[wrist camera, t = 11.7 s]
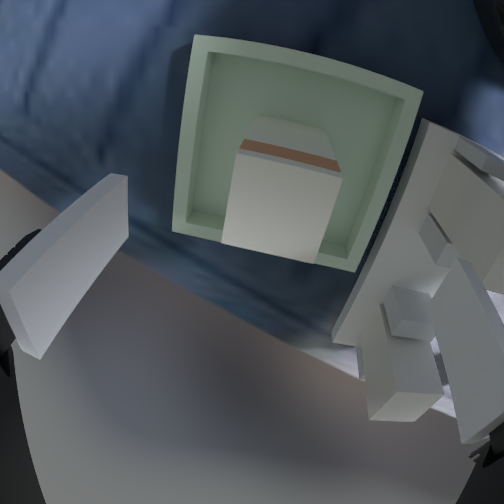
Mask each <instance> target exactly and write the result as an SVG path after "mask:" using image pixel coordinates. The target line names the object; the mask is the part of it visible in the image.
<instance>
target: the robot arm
mask: <svg viewBox="0 0 504 504" xmlns="http://www.w3.org/2000/svg"><path fill="white" fill-rule="evenodd" d="M474 1H475V4H476V8H477V11H478V14H479V17H480V20H481V22H482V25H483V27H484V30H485V32H486V34H487V36H488V38H489V40H490V42H491V44H492V46H493V48H494V49H495V51H496V53H497V54H498V56H499V58H500V59H501V61H502V62H503V64H504V0H474ZM128 237H129V233H128V176H125V175H120V174H114V173H110V174H108V175H107V176H106V177H105V178H103V179H102V180H101V181H99V182H98V183H97V184H96V185H94V186H93V187H92V188H91V189H89V190H88V191H87V192H86V193H84V194H83V195H82V196H81V197H80V198H78V199H77V200H76V201H75V202H74V203H72V204H71V205H70V206H69V207H68V208H66V209H65V210H64V211H63V212H62V213H61V214H59V215H58V216H57V217H56V218H55V219H54V220H53V221H52V222H50V224H48V225H47V226H46V227H45V228H44V229H43V230H41V229H38V230H36V231H34V232H32V233H30V234H28V235H26V236H25V237H24V238H23V239H22V240H21V241H20V242H18V243H17V244H16V246H15V247H13V248H12V249H11V250H10V251H9V252H8V255H5V256H4V257H3V258H2V259H1V260H0V504H46V503H45V500H44V497H43V494H42V491H41V488H40V485H39V482H38V479H37V475H36V472H35V469H34V465H33V462H32V458H31V454H30V451H29V446H28V442H27V438H26V433H25V429H24V424H23V420H22V414H21V409H20V403H19V396H18V390H17V383H16V375H15V367H14V356H13V350H12V347H11V344H12V342H13V341H14V339H15V338H16V340H17V341H18V344H19V346H20V348H21V350H22V351H24V352H26V353H28V354H30V355H32V356H34V357H36V358H38V359H41V357H42V356H43V355H44V353H45V351H46V350H47V348H48V347H49V345H50V344H51V342H52V341H53V339H54V338H55V336H56V335H57V333H58V332H59V330H60V328H61V327H62V326H63V324H64V323H65V321H66V320H67V318H68V317H69V315H70V314H71V313H72V311H73V310H74V308H75V307H76V305H77V304H78V303H79V301H80V300H81V298H82V297H83V296H84V294H85V293H86V291H87V290H88V289H89V287H90V286H91V285H92V283H93V282H94V281H95V279H96V278H97V277H98V275H99V274H100V273H101V271H102V270H103V269H104V267H105V266H106V265H107V263H108V262H109V261H110V260H111V258H112V257H113V256H114V254H115V253H116V252H117V251H118V249H119V248H120V247H121V246H122V244H123V243H124V242H125V241H126V239H127V238H128ZM426 308H427V310H428V313H429V316H430V320H431V323H432V326H433V329H434V332H435V335H436V339H437V342H438V345H439V349H440V352H441V356H442V359H443V363H444V367H445V370H446V374H447V378H448V382H449V386H450V390H451V394H452V399H453V403H454V408H455V412H456V417H457V422H458V427H459V433H460V438H461V443H462V444H466V443H476V442H478V441H480V440H481V439H482V438H484V437H485V436H487V435H488V434H489V436H490V441H489V442H487V443H486V444H484V445H483V446H481V447H480V448H478V449H477V450H475V451H474V452H472V453H471V454H470V456H469V457H470V458H472V457H474V456H475V455H477V454H478V453H479V454H480V456H479V457H477V458H476V459H474V460H473V461H474V462H476V464H475V467H474V469H473V471H472V473H471V475H470V477H469V479H468V481H467V483H466V485H465V487H464V489H463V491H462V493H461V495H460V497H459V499H458V500H457V502H456V504H504V325H503V323H502V321H501V319H500V317H499V314H498V312H497V310H496V308H495V306H494V305H493V303H492V301H491V299H490V297H489V295H488V293H487V291H486V289H485V287H484V286H483V284H482V282H481V280H480V278H479V277H478V275H477V273H476V271H475V270H474V268H473V266H472V264H471V263H470V262H469V261H466V260H463V259H460V258H456V259H455V261H454V263H453V265H452V266H451V268H450V270H449V271H448V273H447V275H446V276H445V278H444V280H443V281H442V283H441V285H440V286H439V288H438V289H437V291H436V293H435V294H434V296H433V297H432V299H431V300H430V302H429V303H428V305H427V307H426Z"/></svg>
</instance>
